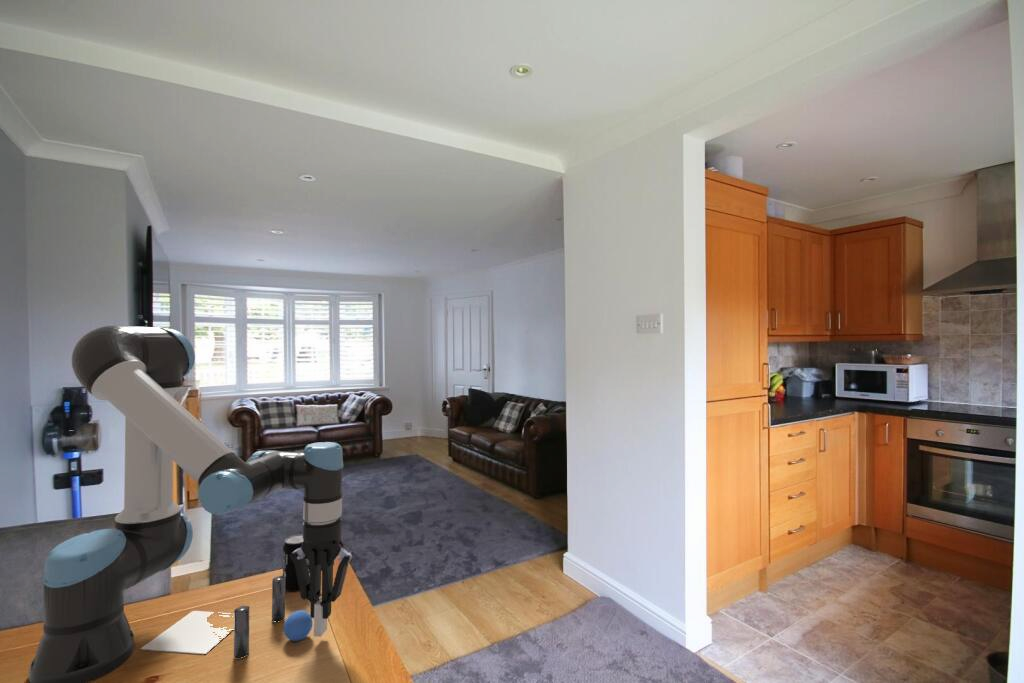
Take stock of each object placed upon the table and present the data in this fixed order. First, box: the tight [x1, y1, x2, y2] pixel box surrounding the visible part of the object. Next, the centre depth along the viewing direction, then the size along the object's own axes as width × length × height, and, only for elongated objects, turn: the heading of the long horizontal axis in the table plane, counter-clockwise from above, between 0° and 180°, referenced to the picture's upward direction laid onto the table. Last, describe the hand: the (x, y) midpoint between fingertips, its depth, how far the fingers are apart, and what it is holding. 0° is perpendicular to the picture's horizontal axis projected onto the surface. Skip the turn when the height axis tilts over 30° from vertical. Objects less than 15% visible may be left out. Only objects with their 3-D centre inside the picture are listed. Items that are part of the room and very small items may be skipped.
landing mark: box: [140, 610, 234, 655], centre depth 104 cm, size 14×14×1 cm
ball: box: [283, 609, 314, 642], centre depth 102 cm, size 6×6×6 cm
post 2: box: [271, 575, 286, 623], centre depth 109 cm, size 3×3×9 cm
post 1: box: [233, 605, 250, 659], centre depth 96 cm, size 3×3×9 cm
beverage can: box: [282, 533, 310, 592], centre depth 124 cm, size 7×7×12 cm
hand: (320, 632), depth 101 cm, fingers closed
